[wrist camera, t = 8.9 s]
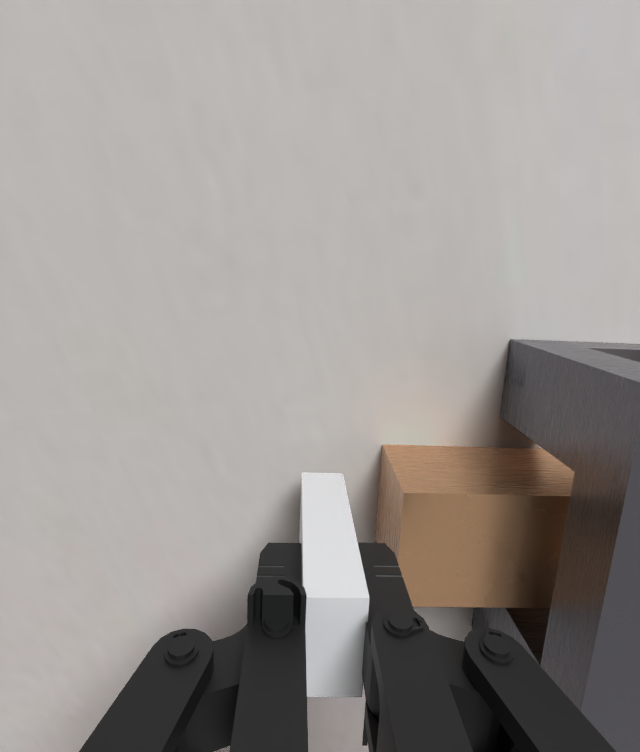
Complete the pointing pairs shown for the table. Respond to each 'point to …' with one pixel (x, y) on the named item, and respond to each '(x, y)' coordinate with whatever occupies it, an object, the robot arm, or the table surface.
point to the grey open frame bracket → (585, 525)
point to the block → (474, 523)
